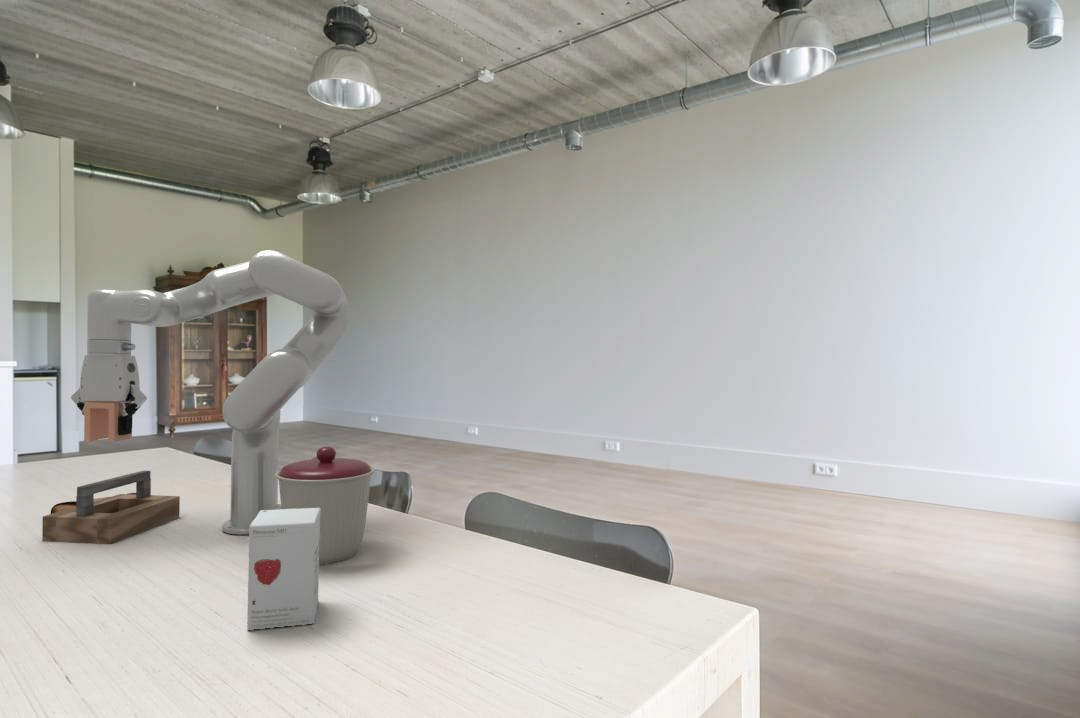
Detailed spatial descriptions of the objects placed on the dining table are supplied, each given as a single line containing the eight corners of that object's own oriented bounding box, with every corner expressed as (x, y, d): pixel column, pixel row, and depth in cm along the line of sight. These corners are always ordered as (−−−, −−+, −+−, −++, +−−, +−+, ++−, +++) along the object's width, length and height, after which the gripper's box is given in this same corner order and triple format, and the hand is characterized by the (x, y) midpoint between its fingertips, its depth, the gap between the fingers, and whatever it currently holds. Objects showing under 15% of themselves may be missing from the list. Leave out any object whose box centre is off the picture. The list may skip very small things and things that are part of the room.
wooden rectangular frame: (179, 517, 140) (179, 470, 140) (110, 544, 120) (111, 489, 120) (120, 515, 142) (120, 468, 142) (42, 540, 122) (42, 487, 122)
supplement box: (245, 632, 83) (246, 525, 83) (257, 606, 92) (258, 509, 92) (314, 625, 86) (315, 521, 86) (320, 600, 94) (321, 506, 94)
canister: (343, 576, 104) (344, 456, 104) (252, 568, 108) (253, 451, 108) (389, 544, 122) (390, 442, 122) (309, 538, 126) (311, 438, 126)
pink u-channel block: (131, 438, 128) (132, 401, 128) (113, 441, 123) (114, 402, 123) (103, 437, 128) (103, 400, 128) (84, 441, 123) (84, 402, 123)
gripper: (161, 349, 129) (160, 432, 129) (84, 348, 130) (83, 431, 130) (136, 349, 121) (135, 437, 121) (54, 348, 122) (53, 435, 122)
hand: (108, 433), depth 126 cm, fingers closed on pink u-channel block, 6 cm apart
